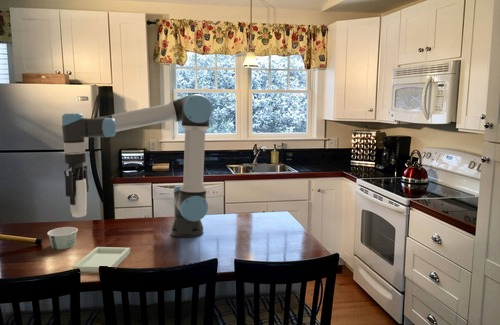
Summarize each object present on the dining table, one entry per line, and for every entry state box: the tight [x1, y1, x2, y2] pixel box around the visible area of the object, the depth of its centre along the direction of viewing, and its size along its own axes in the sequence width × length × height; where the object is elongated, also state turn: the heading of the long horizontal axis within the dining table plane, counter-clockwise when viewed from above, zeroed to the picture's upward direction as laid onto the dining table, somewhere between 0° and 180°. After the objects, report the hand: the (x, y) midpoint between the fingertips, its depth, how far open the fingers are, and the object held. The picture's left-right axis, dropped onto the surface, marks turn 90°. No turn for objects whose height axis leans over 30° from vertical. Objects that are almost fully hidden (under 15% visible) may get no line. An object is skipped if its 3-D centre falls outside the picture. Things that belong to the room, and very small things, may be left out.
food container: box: [47, 226, 79, 250], centre depth 172 cm, size 12×12×6 cm
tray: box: [72, 246, 131, 274], centre depth 154 cm, size 14×20×2 cm
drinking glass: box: [68, 178, 88, 218], centre depth 159 cm, size 7×7×15 cm
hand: (79, 210), depth 160 cm, fingers closed on drinking glass, 6 cm apart
